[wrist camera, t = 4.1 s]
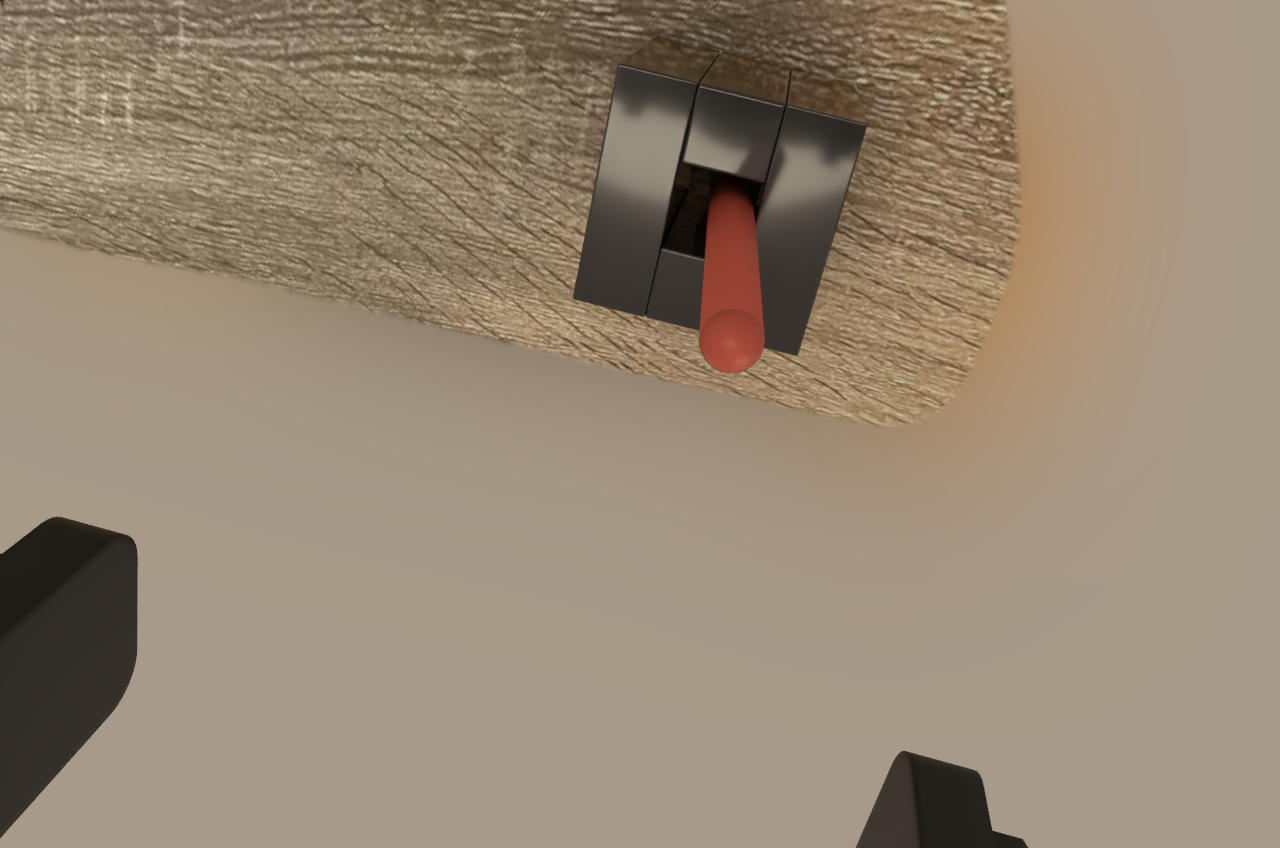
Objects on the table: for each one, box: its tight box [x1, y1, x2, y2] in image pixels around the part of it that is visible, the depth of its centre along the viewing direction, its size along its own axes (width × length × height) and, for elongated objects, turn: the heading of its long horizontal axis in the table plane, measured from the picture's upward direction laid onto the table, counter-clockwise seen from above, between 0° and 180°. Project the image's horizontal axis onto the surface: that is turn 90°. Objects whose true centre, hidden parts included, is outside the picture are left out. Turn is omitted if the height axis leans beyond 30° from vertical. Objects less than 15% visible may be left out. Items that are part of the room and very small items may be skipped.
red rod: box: [699, 171, 765, 373], centre depth 26 cm, size 1×1×16 cm
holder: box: [573, 36, 867, 356], centre depth 30 cm, size 6×6×7 cm
